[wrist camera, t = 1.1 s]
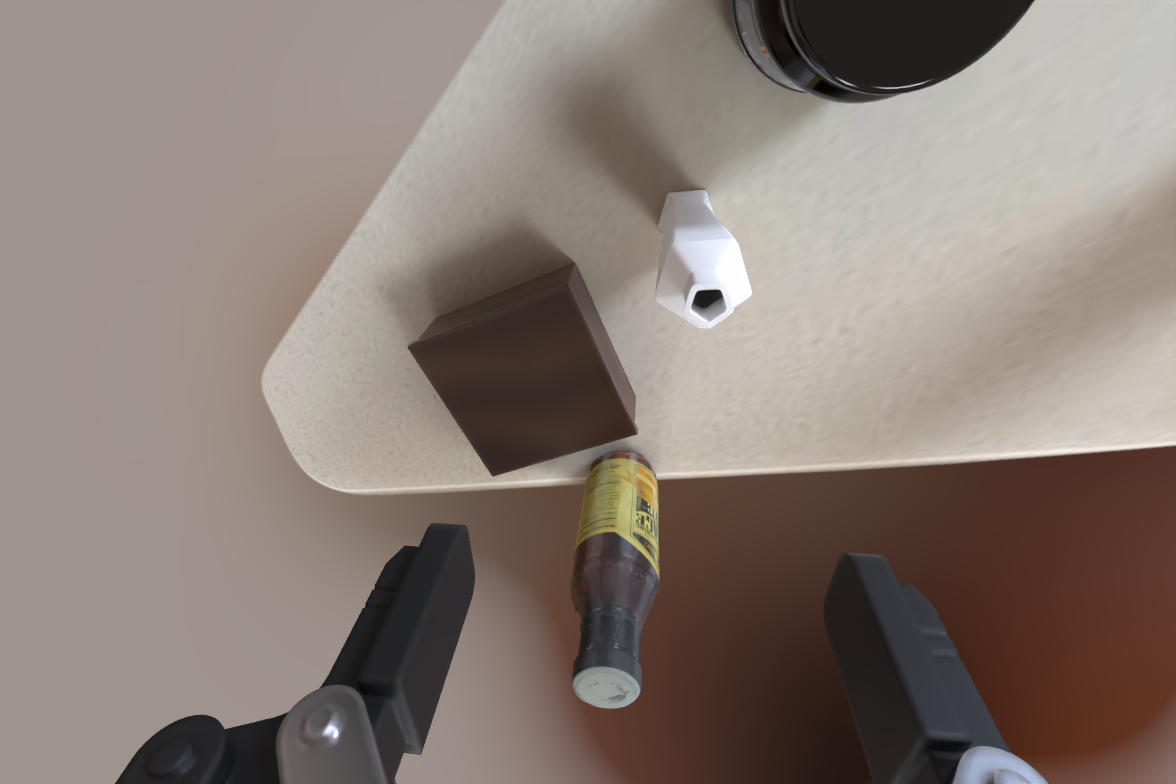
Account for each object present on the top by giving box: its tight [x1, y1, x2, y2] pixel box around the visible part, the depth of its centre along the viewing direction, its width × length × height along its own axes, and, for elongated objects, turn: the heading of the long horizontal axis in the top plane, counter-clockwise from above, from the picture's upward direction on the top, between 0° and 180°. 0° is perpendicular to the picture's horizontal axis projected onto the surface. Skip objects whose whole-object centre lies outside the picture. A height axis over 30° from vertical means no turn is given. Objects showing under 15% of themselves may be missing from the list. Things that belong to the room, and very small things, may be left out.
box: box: [408, 263, 638, 476], centre depth 41 cm, size 12×12×5 cm
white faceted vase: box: [655, 190, 752, 328], centre depth 30 cm, size 5×4×15 cm
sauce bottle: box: [571, 451, 659, 708], centre depth 40 cm, size 7×6×20 cm
